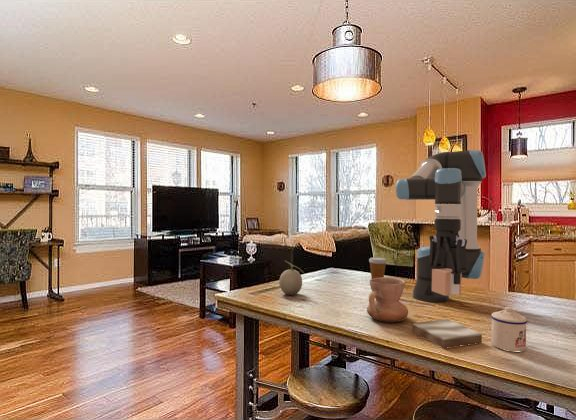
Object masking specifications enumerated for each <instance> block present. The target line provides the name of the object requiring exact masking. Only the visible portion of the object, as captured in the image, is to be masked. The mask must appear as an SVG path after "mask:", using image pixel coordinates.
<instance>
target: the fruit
mask: <svg viewBox="0 0 576 420" xmlns="http://www.w3.org/2000/svg"><path fill="white" fill-rule="evenodd" d="M284 262H285V263H287V264H288V265H290V268H289V269H286V270H284V271H283V272H282V273H281V274H280V277H279V280H278V281H279V287H280V289H281V292H282V293H283V294H285V295H287V296H295V295H297V294H299V293H300V291H301V289H302V287H303V277H302V274H300V272H299V271H297V270H296V269H294V268H297V269H298V270H300V271H301V272H302V273H303V274H305V272H304V271H303V270H302V269H301V268H300V267H298V266H296V265H294V264H292V263H291V262H288V261H287V260H284Z"/></svg>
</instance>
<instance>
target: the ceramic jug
mask: <svg viewBox="0 0 576 420" xmlns="http://www.w3.org/2000/svg"><path fill="white" fill-rule="evenodd" d="M405 283H406V281H405V280H404V279H401V278H396V277H387V276H384V277H383V278H374V279H372V278H371V279H370V280H369V285H370V289H371V292H369V295H368V306H367V307H366V312H367V314H368V315H369V317H371V318H373V319H374V320H376V321H379V322H384V323H399V322H402V321H404V320H405V319H406V318H407V317H408V314H409V310H408V307H407V306H406V305H405V304H403V303H402V302H401V301H400V299H401V298H402V295H403V292H404V289H405V285H406V284H405Z"/></svg>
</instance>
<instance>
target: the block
mask: <svg viewBox="0 0 576 420" xmlns="http://www.w3.org/2000/svg"><path fill="white" fill-rule="evenodd" d="M451 272H452V269H448V268H446V269H432V291H433V292H436V293H439V294H442V295H444V296H448V295H449V296H451V295H450V273H451ZM462 279H463V278H462V273H461V278H460V284H459V294H457V295H456V296H459V295H462V281H463V280H462Z"/></svg>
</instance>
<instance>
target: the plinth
mask: <svg viewBox="0 0 576 420" xmlns="http://www.w3.org/2000/svg"><path fill="white" fill-rule="evenodd" d="M413 332H414V334H415V333H416V335H417V334H418V335H417V336H419V335H420V336H419V337H421V336H422V337H421V338H423V337H424V338H426V339H428V340H430V341H431V342H430V341H429V342H430V343H432V342H433V343H432V344H434V343H435V344H437V345H439V346H441V347H442V348H441V347H440V348H441V349H443V348H447V347H454V346H460V345H468V344H474V345H476V344H475V343H481V342H482V341H483V338H482V337H483V336H482V335H483V334H482V332H480V331H476V330H475V329H472V328H469V327H468V326H465V325H463V324H460V323H458V322H456V321H454V320H451V319H448V318H445V319H438V320H428V321H420V322H413V323H412V333H413ZM424 338H423V339H424ZM426 339H425V340H426ZM428 340H427V341H428ZM435 344H434V345H435ZM481 344H482V343H481ZM437 345H436V346H437ZM439 346H438V347H439ZM468 346H469V345H468ZM454 348H455V347H454ZM447 349H448V348H447Z"/></svg>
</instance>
